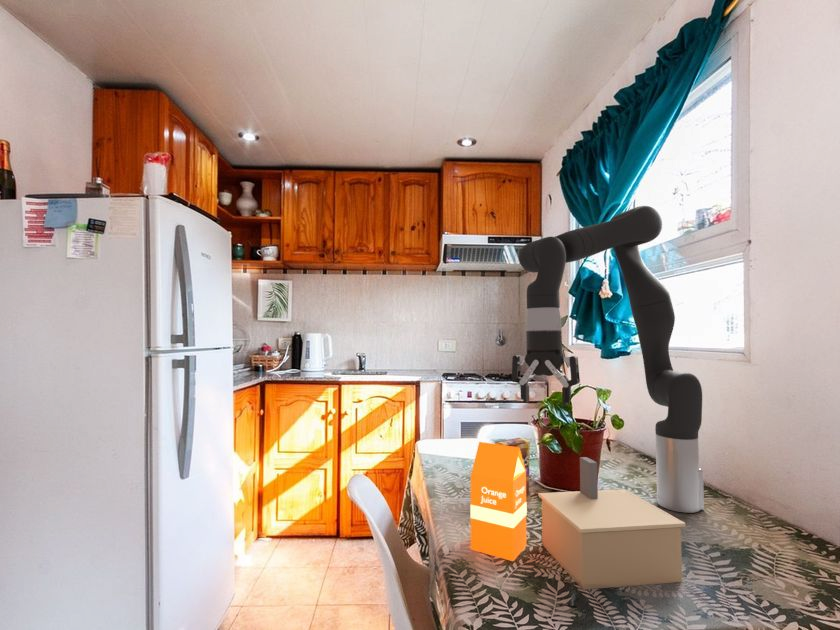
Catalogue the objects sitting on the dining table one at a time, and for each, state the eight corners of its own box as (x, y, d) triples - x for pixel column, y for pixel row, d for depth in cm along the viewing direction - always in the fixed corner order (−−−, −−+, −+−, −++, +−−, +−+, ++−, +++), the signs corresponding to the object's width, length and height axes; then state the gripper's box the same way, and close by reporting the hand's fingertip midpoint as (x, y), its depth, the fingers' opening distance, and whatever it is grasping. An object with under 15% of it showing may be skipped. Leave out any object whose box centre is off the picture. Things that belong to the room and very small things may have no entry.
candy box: (505, 508, 106) (504, 444, 107) (492, 502, 110) (492, 441, 111) (530, 500, 111) (530, 440, 112) (518, 495, 115) (517, 436, 116)
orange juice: (513, 561, 81) (512, 451, 82) (470, 549, 85) (470, 445, 86) (527, 545, 87) (526, 443, 88) (486, 534, 92) (485, 438, 93)
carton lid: (625, 492, 91) (624, 455, 92) (685, 526, 74) (684, 481, 75) (538, 496, 89) (538, 457, 89) (580, 532, 72) (580, 485, 72)
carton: (625, 539, 90) (624, 494, 91) (682, 581, 74) (680, 527, 75) (542, 544, 88) (541, 498, 88) (582, 589, 72) (582, 533, 72)
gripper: (581, 328, 96) (583, 403, 95) (518, 329, 103) (519, 399, 102) (573, 328, 89) (575, 408, 89) (506, 329, 97) (508, 403, 96)
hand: (545, 403), depth 95 cm, fingers open, 8 cm apart
